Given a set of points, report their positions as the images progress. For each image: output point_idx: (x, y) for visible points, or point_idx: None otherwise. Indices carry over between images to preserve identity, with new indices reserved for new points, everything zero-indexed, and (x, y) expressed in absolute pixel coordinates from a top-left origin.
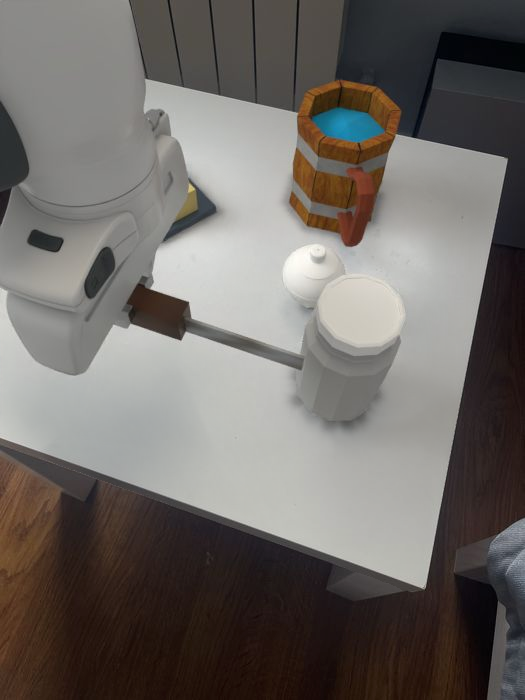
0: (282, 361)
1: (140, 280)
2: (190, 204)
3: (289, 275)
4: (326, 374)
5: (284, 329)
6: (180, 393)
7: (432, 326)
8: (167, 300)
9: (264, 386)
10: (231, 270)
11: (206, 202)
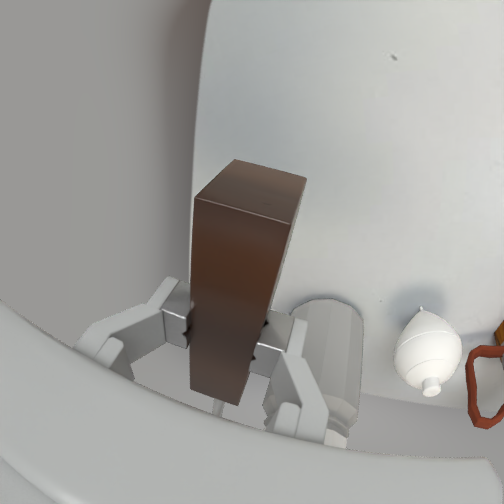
0: None
1: (259, 365)
2: None
3: (424, 347)
4: (271, 386)
5: (397, 285)
6: (307, 176)
7: (383, 381)
8: (229, 386)
9: (325, 266)
10: (483, 230)
11: None
